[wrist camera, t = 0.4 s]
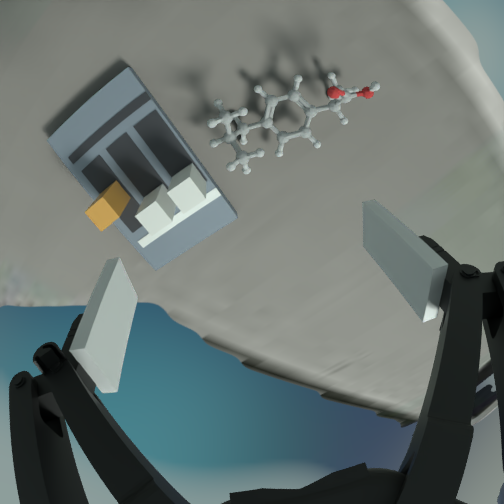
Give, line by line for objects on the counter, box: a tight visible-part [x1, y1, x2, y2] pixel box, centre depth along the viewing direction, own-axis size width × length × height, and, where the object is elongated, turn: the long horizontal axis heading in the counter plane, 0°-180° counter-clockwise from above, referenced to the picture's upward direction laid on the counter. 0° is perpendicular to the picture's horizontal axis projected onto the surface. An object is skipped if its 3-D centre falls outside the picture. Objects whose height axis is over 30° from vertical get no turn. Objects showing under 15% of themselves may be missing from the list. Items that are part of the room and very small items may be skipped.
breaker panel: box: [47, 67, 238, 271], centre depth 35 cm, size 24×14×8 cm, turn 32°
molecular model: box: [207, 72, 380, 174], centre depth 34 cm, size 19×10×10 cm, turn 103°
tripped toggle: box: [85, 180, 130, 232], centre depth 35 cm, size 3×3×6 cm
